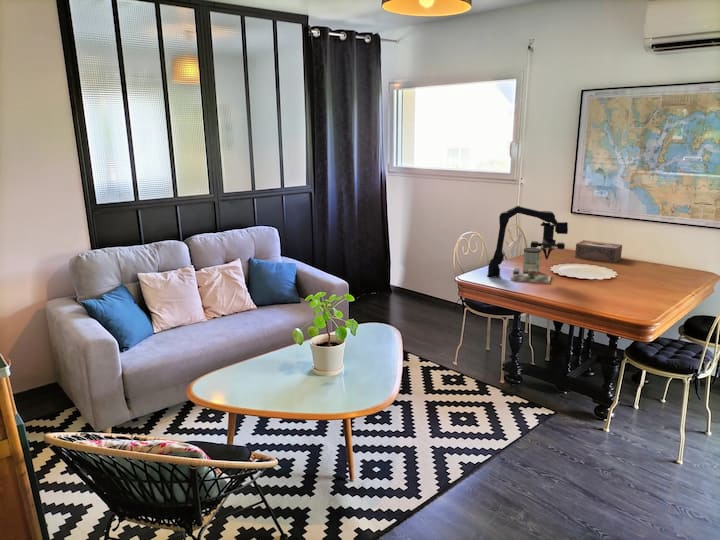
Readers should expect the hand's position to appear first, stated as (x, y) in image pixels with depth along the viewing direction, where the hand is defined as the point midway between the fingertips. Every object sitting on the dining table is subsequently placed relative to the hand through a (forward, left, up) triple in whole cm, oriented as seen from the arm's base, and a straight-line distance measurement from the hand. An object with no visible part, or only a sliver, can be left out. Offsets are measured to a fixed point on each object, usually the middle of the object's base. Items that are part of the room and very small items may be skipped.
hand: (546, 259), depth 305 cm
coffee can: (-9, +16, -12) cm, 22 cm away
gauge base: (-8, -3, -12) cm, 15 cm away
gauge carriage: (-9, -5, -10) cm, 14 cm away
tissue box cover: (+32, +65, -12) cm, 74 cm away
